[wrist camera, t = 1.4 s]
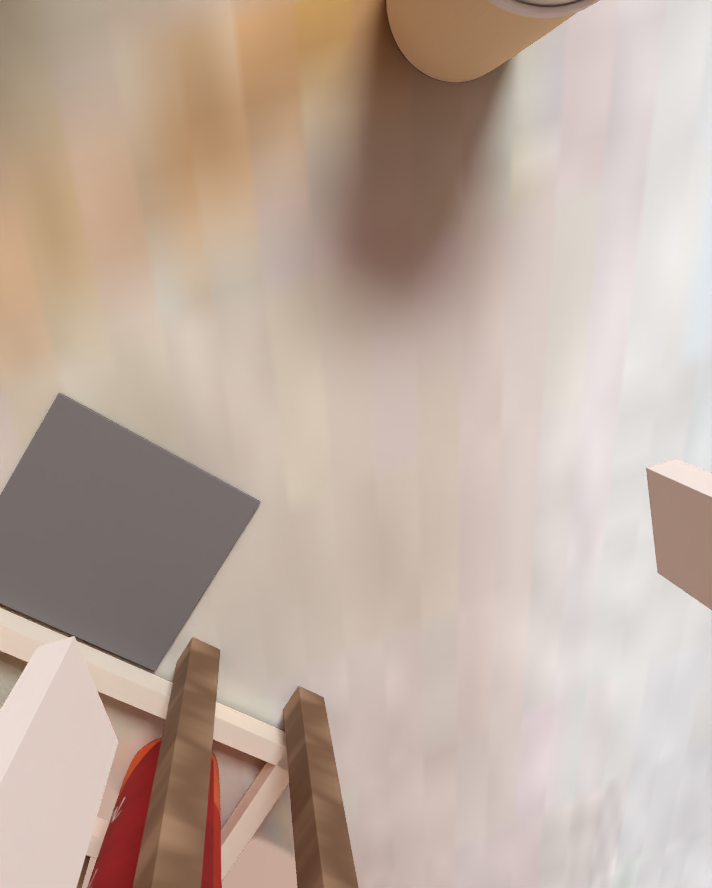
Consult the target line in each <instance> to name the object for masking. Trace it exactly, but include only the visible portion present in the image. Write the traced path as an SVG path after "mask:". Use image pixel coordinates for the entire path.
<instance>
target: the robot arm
mask: <svg viewBox="0 0 712 888" xmlns="http://www.w3.org/2000/svg"><path fill="white" fill-rule="evenodd" d="M646 471H647V480H648V490H649V499H650V508H651V517H652V526H653V535H654V544H655V553H656V562H657V571H658V573H659V574H660V575H662V576H663V577H665V578H666V579H668V580H669V581H670V582H672V583H673V584H675V585H676V586H678V587H679V588H681V589H682V590H683V591H685V592H686V593H688V594H689V595H691V596H692V597H694V598H695V599H696V600H698V601H699V602H701V603H702V604H704V605H705V606H707V607H708V608H709V609H711V610H712V473H711V472H708V471H706V470H703V469H700V468H698V467H695V466H693V465H690V464H688V463H685V462H683V461H680V460H678V459H674V460H671V461H667V462H664V463H661V464H657V465H654V466H650V467H647V468H646ZM117 745H118V739H117V737H116V735H115V732H114V730H113V727H112V725H111V723H110V720H109V718H108V715H107V713H106V710H105V708H104V706H103V703H102V701H101V698H100V696H99V694H98V691H97V689H96V686H95V684H94V682H93V679H92V677H91V674H90V672H89V669H88V667H87V665H86V662H85V660H84V657H83V655H82V653H81V650H80V648H79V645H78V643H77V641H76V638H75V636H73V637H69V638H66V639H62V640H59V641H56V642H52V643H49V644H45V645H42V646H39V647H37V649H36V650H35V652H34V654H33V655H32V657H31V659H30V660H29V662H28V664H27V666H26V667H25V669H24V671H23V672H22V674H21V676H20V677H19V679H18V681H17V683H16V684H15V686H14V688H13V689H12V691H11V693H10V694H9V696H8V698H7V699H6V701H5V703H4V705H3V706H2V708H1V710H0V888H77V884H78V881H79V877H80V874H81V870H82V867H83V863H84V860H85V856H86V853H87V849H88V846H89V842H90V839H91V835H92V832H93V829H94V825H95V822H96V818H97V814H98V811H99V808H100V804H101V801H102V797H103V794H104V790H105V787H106V783H107V780H108V776H109V773H110V769H111V766H112V762H113V759H114V755H115V752H116V749H117Z"/></svg>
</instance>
